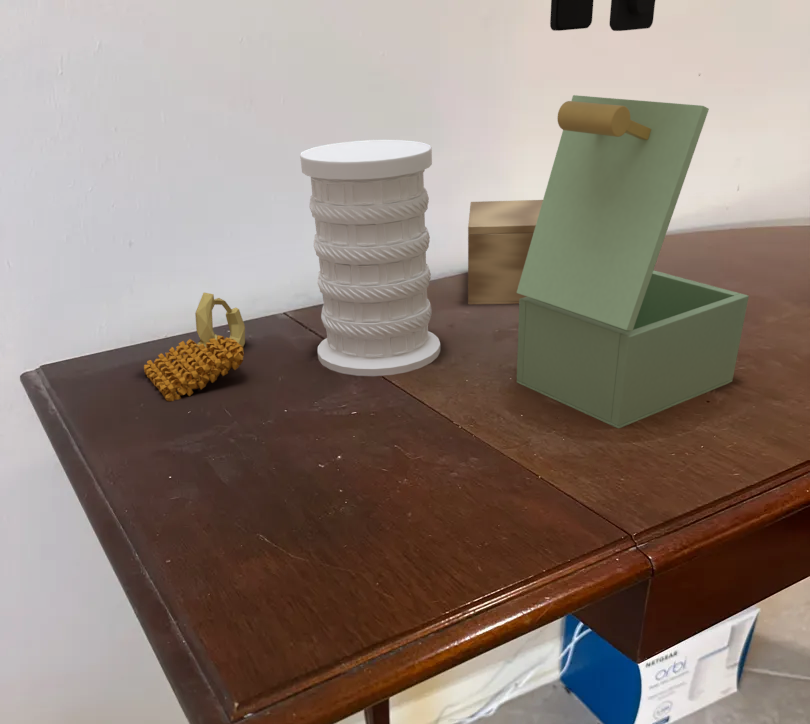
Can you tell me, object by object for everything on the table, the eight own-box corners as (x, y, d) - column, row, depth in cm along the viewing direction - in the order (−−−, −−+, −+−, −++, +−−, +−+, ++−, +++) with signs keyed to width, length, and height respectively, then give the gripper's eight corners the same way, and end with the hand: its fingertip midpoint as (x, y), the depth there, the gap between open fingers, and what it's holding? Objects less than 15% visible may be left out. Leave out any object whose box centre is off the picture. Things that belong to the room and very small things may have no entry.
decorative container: (300, 351, 79) (275, 149, 69) (405, 328, 83) (396, 134, 73) (348, 392, 71) (328, 168, 61) (463, 364, 75) (462, 150, 65)
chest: (625, 350, 76) (635, 265, 72) (731, 388, 68) (749, 295, 64) (515, 388, 70) (519, 298, 65) (617, 435, 62) (628, 336, 57)
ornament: (199, 357, 65) (265, 265, 75) (98, 374, 69) (173, 284, 79) (237, 424, 69) (294, 328, 79) (139, 436, 73) (206, 344, 83)
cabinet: (586, 275, 96) (592, 198, 91) (596, 307, 86) (604, 223, 81) (470, 278, 97) (470, 201, 92) (468, 309, 87) (468, 226, 83)
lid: (579, 97, 60) (533, 77, 57) (709, 108, 52) (664, 85, 49) (522, 294, 65) (477, 285, 62) (632, 331, 57) (587, 323, 54)
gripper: (830, -447, 37) (752, 25, 47) (567, -334, 49) (550, 25, 59) (725, -483, 34) (665, 34, 44) (470, -352, 45) (470, 32, 56)
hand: (600, 25), depth 51 cm, fingers open, 4 cm apart
